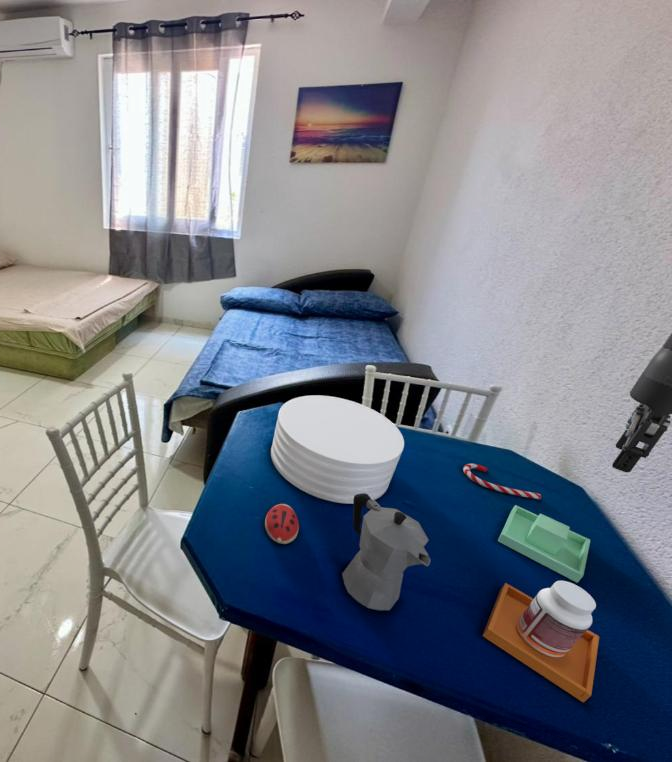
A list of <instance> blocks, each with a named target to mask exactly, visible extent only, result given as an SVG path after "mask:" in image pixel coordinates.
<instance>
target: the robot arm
mask: <svg viewBox="0 0 672 762" xmlns="http://www.w3.org/2000/svg"><path fill="white" fill-rule="evenodd" d="M629 396H630V397H631V399H632V400H634V401H635V402H637V403H639V404H638V405H636V406H635V407H634V409H633V411H632V413H631V414H630V415H629V417H628V419H627V421H626V422H627V423H626V425H625V430H624V432H623V433H622V434H621V435H620V437H619V439H618V441H617V442H616V443H615V448H616V449H618V450H621V451H619V454H618V455H617V456H616V458H615V459H614V461H613V462H612V464H611V466H612V467H611V468H613V469H615V470H618V471H621V472H622V473H623V472H624V473H631V472H632V471H633V468H635V466H636V465H637V463H638V462H639V461H640V460H641V458H643V459H646V458H648V457H649V456H650V453H651V452H652V450H653V449H654V447H655V446H656V445H657V443H658V442H659V441H660V439H661V438H662V437H663V435H664V433H666V432H667V431H668V429H669V427H670V425H671V423H672V421H671V420H670V419H671V417H672V416H671V415H672V332H670V334H669V336H668V337H667V339H666V340H665V342H664V343H663V345H662V346H661V347H660V348H659V350H658V351H657V352H656V353H655V354H654V355H653V356H652V357H651V359H650V360H649V362H648V364H647V365H646V367H645V368H644V370H643V372H641V374H640V376H639V377H638V379H637V380H636V381H635V384H634V385H633V387H632V388H631V389H630V391H629ZM640 443H642V444H643V446H642V447H638V445H639V444H640Z"/></svg>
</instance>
